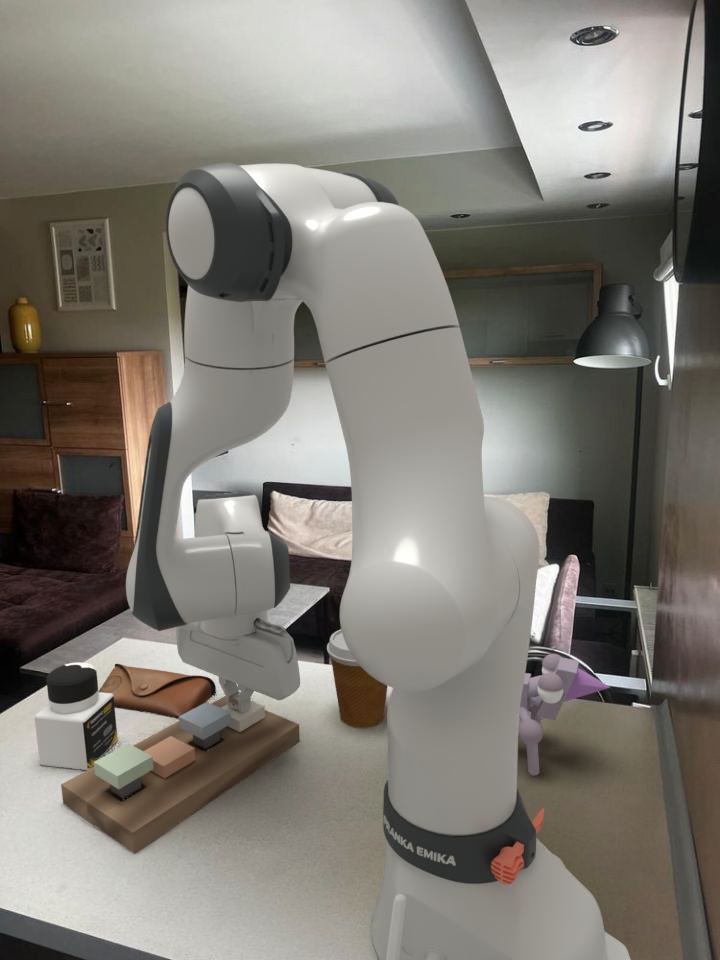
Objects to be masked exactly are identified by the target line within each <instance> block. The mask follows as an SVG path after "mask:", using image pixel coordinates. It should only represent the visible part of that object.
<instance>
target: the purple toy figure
mask: <svg viewBox="0 0 720 960" xmlns="http://www.w3.org/2000/svg"><path fill="white" fill-rule="evenodd" d="M579 662H580V661H579V660H577V659H571V658H566V657H562V656H561V655H559V654H556V653H550V654H547V655H545V656H544V658H543V659H542V661H541V665H542V667H541V673H542V674H541V675H537V676H533V677H532V673H529V672H528V673H527V672H525V678H524V684H523V690H522V696H521V704H520V713H519V730H518V739H520V741H521V742H522V743H524V744H525V745H526V756H527V757H526V759H527V771H528V775H531V776H533V777H535V776H538V775H539V774H540V758H539V743H540V742H541V741H542V739H543V736H544V730H543V726H541V723H542V720H543V719H547V720H551V721H556V719H557V717H558V715H559V713H560V710H561V708H562V706H563V704H564V703H565V702H568V701H572V700H575V699H577V698H580V697H584V696H588V695H591V694H594V693H597V692H600V691H603V690H607V689H610V688H611V687H610V686H609V685H608V684H605V683H604V682H602V680H599V679H598V678H596V677H594V676H593V675H591V674H589V673H588V672H586V671H584V670H583V669H581V668H579Z"/></svg>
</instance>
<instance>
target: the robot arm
mask: <svg viewBox="0 0 720 960" xmlns="http://www.w3.org/2000/svg"><path fill="white" fill-rule="evenodd" d="M165 215H166V216H165V217H166V218H165V233H166V241H167V248H168V251H169V254H170V258H171V261H172V263H173V265H174V267H175V269H176V270H177V273H179V275H180V276H181V278H182V279H183V280H184V281H185V282H186V284H187V291H186V292H187V293H186V302H185V312H184V330H183V331H184V334H183V335H184V338H183V339H184V344H183V345H184V368H183V374H182V378H181V380H180V383H179V387H178V388H177V390H176V392H175V394H174V396H173V397H172V398H171V399H170V400H169V401H168V402H166V403H164V404H163V405H161V406H160V407H158V408H157V411H156V412H155V415H154V417H153V421H152V423H151V427H150V433H149V438H148V443H147V449H146V455H145V456H146V457H145V463H144V470H143V477H142V484H141V485H142V486H141V493H140V501H139V502H140V503H139V507H138V508H139V509H138V517H137V526H136V531H135V538H134V543H133V544H134V545H133V550H132V555H131V557H130V560H129V563H128V567H127V571H126V577H125V590H126V593H125V594H126V600H127V603H128V607H129V609H130V611H131V615H132V616H133V617H135V618H136V619H137V620H139V621H140V622H142V623H143V624H144V625H145V626H148V627H149V628H151V629H154V630H156V631H158V632H160V631H165V630H166V631H167V630H170V629H173V628H175V634H176V635H175V636H176V637H175V638H176V647H177V653H178V655H179V657H180V659H181V661H182V663H184V664H186V665H189V666H191V667H195V668H196V669H199V670H201V671H203V672H206V673H209V674H211V675H214V676H217V677H218V683H219V686H220V688H221V689H222V691H223V694H224V696H226V702H227V706H228V707H230V708H232V709H235V710H237V711H239V712H242V713H244V712H246V711H248V710H249V709H250V707H251V701H252V700H251V698H252V696H253V694H254V693H255V692H256V693H258V694H261V695H264V696H265V697H269V698H271V699H274V700H277V701H282V700H284V699H287V698H288V697H290V696H291V695H293V694H294V693H296V692H297V691H298V689H299V688H300V686H301V674H300V667H299V661H298V655H297V650H296V646H295V642H294V639H293V637H292V636H291V635H290V634H289V633H288V632H287V630H286V628H285V626H284V627H283V626H282V625H279V624H273V623H272V622H269V621H268V617H269V616H268V611H269V610H272V609H276V608H277V606H279V604H281V602H283V600H284V599H285V597H286V595H287V594H288V592H289V591H290V589H291V575H290V552H289V547H288V545H287V543H285V541H283V540H282V539H280V538H279V537H277V536H276V535H275V534H273V533H271V532H270V531H268V530H265V528H264V527H263V521H262V515H261V510H260V504H259V500H258V497H257V495H255V494H253V493H251V492H249V491H239V492H238V491H235V492H224V493H215V494H214V493H213V494H210V493H209V494H207V495H204V496H203V497H200V498H199V499H198V500H197V504H196V511H195V521H194V522H195V523H194V537H189V538H180V537H179V538H178V537H176V532H177V527H178V522H179V521H178V519H179V513H180V506H181V499H182V493H183V487H184V485H185V483H186V481H187V479H188V477H189V476H191V474H192V473H193V472H195V470H197V469H198V468H199V467H200V466H202V465H203V464H205V463H207V462H208V461H210V460H212V459H214V458H216V457H218V456H220V455H221V454H222V455H223V454H224V453H226V452H228V451H231V450H233V449H235V448H238V447H241V446H244V445H246V444H248V443H250V442H252V441H254V440H256V439H258V438H259V437H261V436H263V435H264V434H266V433H267V432H268V431H269V430H271V428H273V427H275V425H276V424H277V423H278V422H279V421H280V420H281V418H282V417H283V416H284V415H285V413H286V411H287V409H288V408H289V406H290V402H291V397H292V392H293V384H294V373H295V371H294V370H295V361H294V360H295V333H294V332H295V331H294V329H295V327H294V326H295V318H296V317H295V315H296V314H297V313H296V312H297V310H298V308H299V306H300V305H301V304H302V303H304V304H305V305H306V306H307V308H308V309H309V310H310V313H311V315H312V317H313V321H314V323H315V327H316V330H317V331H316V332H317V335H318V340H319V344H320V349H321V353H322V357H323V360H324V365H325V368H326V372H327V375H328V380H329V383H330V388H331V392H332V395H333V400H334V403H335V407H336V411H337V415H338V420H339V424H340V426H341V431H342V435H343V438H344V442H345V447H346V452H347V458H348V464H349V473H350V487H351V489H350V490H351V513H352V514H351V518H352V519H351V522H352V529H351V530H352V545H351V546H352V548H351V562H350V569H349V574H348V577H347V581H346V584H345V587H344V589H343V594H342V596H341V600H340V606H339V622H340V624H339V625H340V629H341V630H342V634H343V637H344V640H345V643H346V645H347V647H348V649H349V651H350V653H351V654H352V656H353V657H354V659H355V660H356V661H357V663H358V664H359V665H360V666H361V667H362V668H363V669H364V670H365V671H366V672H367V673H368V674H369V675H371V676H372V677H373V678H375V679H376V680H378V681H379V682H381V683H383V684H385V685H387V687H390V688H392V690H391V693H390V695H389V700H388V704H387V711H386V721H387V723H386V724H387V727H386V728H387V733H386V735H387V737H386V738H387V740H386V741H387V742H386V743H387V744H386V745H387V779H386V781H385V785H384V787H383V803H382V807H383V808H382V809H383V810H382V811H383V812H382V818H383V819H382V820H383V821H382V825H383V826H382V827H383V828H382V829H383V833H384V837H385V839H386V853H385V863H384V871H383V878H382V883H381V890H380V894H379V898H378V901H377V903H376V904H377V905H376V907H375V909H374V913H373V917H372V921H371V937H372V942H373V947H374V949H375V953H376V955H377V957H378V960H632V959H631V956H630V954H629V950H628V947H626V945H624V943H622V942H621V941H619V940H618V939H616V938H615V937H614V936H612V935H610V934H609V933H608V932H606V931H605V926H604V921H603V917H602V913H601V909H600V907H599V905H598V902H597V900H596V898H595V897H594V895H593V894H592V893H591V892H590V890H588V888H587V887H585V886H584V884H583V883H581V882H580V881H579V879H577V878H576V876H574V874H572V873H571V872H570V870H568V869H567V867H566V865H565V863H564V862H563V860H561V858H560V857H559V856H557V855H556V854H554V853H552V852H551V851H550V850H549V849H548V848H547V847H546V846H545V845H544V843H543V842H541V841H540V840H539V838H537V834H538V833H539V831H540V830H541V829H542V827H543V824H544V821H545V817H544V816H545V809H544V808H541V809H540V810H539V812H538V813H537V814H536V815H535V817H534V818H533V819H532V820H531V819H530V816H529V814H528V811H527V808H526V806H525V803H524V801H523V798H522V796H521V794H520V791H519V788H518V784H517V783H518V762H519V761H518V760H519V759H518V757H519V736H518V730H519V725H520V718H519V713H520V704H521V696H522V690H523V684H524V678H525V673H526V671H527V664H528V656H529V649H530V641H531V635H532V633H531V632H532V626H533V617H534V607H535V599H536V589H537V588H536V586H537V577H538V573H539V572H538V571H539V564H540V551H541V547H540V546H541V545H540V538H539V536H538V535H539V534H538V532H537V530H536V528H535V526H534V524H533V522H532V520H531V519H530V518H529V516H528V515H526V514H525V512H524V511H523V510H522V509H520V508H519V507H518V506H516V505H515V504H513V503H511V502H509V501H508V500H505V499H502V498H497V497H492V496H490V497H489V496H484V493H485V492H484V481H483V463H482V461H483V459H482V455H483V453H482V449H483V439H484V434H485V433H484V432H485V424H484V418H483V417H484V416H483V413H482V410H481V406H480V402H479V398H478V394H477V390H476V387H475V386H476V385H475V382H474V378H473V374H472V371H471V366H470V363H469V358H468V355H467V354H468V353H467V350H466V347H465V343H464V339H463V335H462V330H461V328H460V322H459V320H458V316H457V313H456V309H455V305H454V302H453V299H452V296H451V293H450V290H449V286H448V284H447V281H446V279H445V275H444V273H443V270H442V268H441V265H440V263H439V260H438V259H437V258H438V257H437V256H436V254H435V250H434V249H433V245H432V244H431V242H430V240H429V238H428V236H427V234H426V232H425V229H424V228H423V226H422V224H421V222H420V221H419V220H418V218H417V217H416V216H415V215H414V214H413V213H412V212H411V211H409V210H408V209H407V208H405V207H403V206H401V205H400V203H399V202H398V200H397V198H396V196H395V195H394V194H393V193H392V191H390V189H388V188H387V187H386V186H385V185H383V184H382V183H380V182H379V181H377V180H375V179H373V178H370V177H368V176H365V175H362V174H359V173H355V172H342V173H340V172H335V171H331V170H325V169H319V168H312V167H305V166H302V165H299V164H294V163H278V162H277V163H257V164H256V163H253V164H244V165H243V164H242V165H238V164H236V163H234V162H228V161H227V162H218V163H213V164H208V165H204V166H200V167H197V168H194V169H191V170H189V171H186V172H185V173H184V174H183V175H182V176H181V177H180V178H179V180H178V181H177V182H176V185H175V187H174V189H173V191H172V194H171V195H170V198H169V200H168V204H167V209H166V214H165Z"/></svg>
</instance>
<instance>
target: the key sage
mask: <svg viewBox="0 0 720 960" xmlns="http://www.w3.org/2000/svg"><path fill="white" fill-rule="evenodd" d="M93 767H94V769H95V775H96V776H98V777H100V778H101V779H103V780H104V781H106V782H108V783H109V784H110V787H111V791H113V792H114V793H116V794H117V795H119V796H120V797H122V798H124V797H126V796H128V795H129V794H131V793H133V792H134V791H136V790H138V789H139V788H141V780H140V777H141V776H142V775H144V774H146V773H148V772H149V771H151V770H153V757H152V756H151V755H149V754H147V753H145V752H143V751H141V750H140V749H138V748H136V747H134V746H133V745H132V744H130V743H127V744H125V745H123V746H121V747H119V748H117V749H116V750H113V751H112V752H110V753H108V754H105V756H104V755H103V756H102V757H101V758H100V759H98V760H97V761H95V762H94V765H93Z"/></svg>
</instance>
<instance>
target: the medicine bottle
mask: <svg viewBox="0 0 720 960" xmlns="http://www.w3.org/2000/svg"><path fill="white" fill-rule="evenodd" d="M97 671H98V670H97V668H96V666H94V665H93V664H91V663H89V662H78V661H77V662H70V663H65V664H62V665H60V666H58V667H56V668H54V669H53V670H51V671H50V672H49V674H48V675H47V676H46V679H45V681H46V688H47V689H46V690H47V698H48V704H47V705H46V706H45V707H43V708H42V709H40V711H39V712H37V713H36V714H35V715H34V724H35V725H34V726H35V732H36V742H37V749H38V750H37V751H38V757H39V764H40V766H46V767H56V768H62V767H63V768H64V769H71V768H72V769H74V770H80V769H81V770H82V771H87V770H89V769H91V768H93V767H94V762H95V761H97V760H98V759H100V758H102V757H104V755H106V753H107V752H108V751H109V750H110V749H111V748H112V747H113V746H114V745H115V744H116V743H117V742H118V737H119V736H118V728H117V719H116V717H117V716H116V709H115V708H116V707H115V706H114V696H113V694H112V693H102V692H99V690H100V689H99V682H98V672H97Z"/></svg>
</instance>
